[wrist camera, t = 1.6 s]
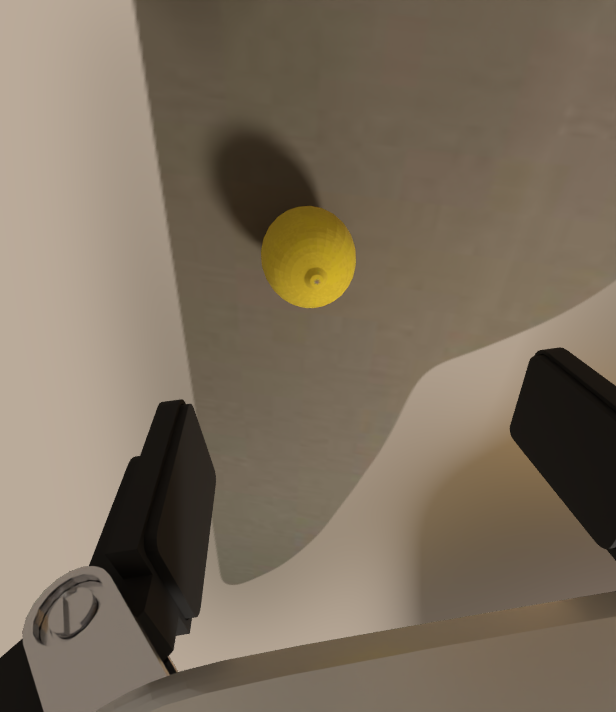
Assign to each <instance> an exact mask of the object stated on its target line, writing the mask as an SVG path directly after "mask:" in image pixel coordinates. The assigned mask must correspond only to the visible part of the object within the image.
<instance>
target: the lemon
mask: <svg viewBox="0 0 616 712" xmlns="http://www.w3.org/2000/svg"><path fill="white" fill-rule="evenodd" d="M261 259H262V267H263V270H264V273H265V276H266V279H267V280H268V282H269V284H270V285H271V287H272V288H273V290H274V291H275V292H276V293H277V294H278V295H279V296H280V297H281V298H283V299H284V300H286V301H287V302H289V303H291V304H293V305H296V306H300V307H304V308H316V307H321V306H325V305H327V304H329V303H331V302H333V301H335V300H336V299H337V298H338V297H340V296H341V295H342V294H343V292H344V291H345V290H346V289H347V287H348V286H349V284H350V282H351V280H352V278H353V275H354V270H355V265H356V255H355V247H354V243H353V240H352V237H351V234H350V233H349V231H348V230H347V228H346V226H345V225H344V223H343V222H342V221H341V220H339V219H338V218H337V217H336V216H335V215H334V214H332V213H330V212H328V211H326V210H324V209H322V208H319V207H313V206H301V207H296V208H293V209H290V210H287V211H286V212H284V213H283V214H281V215H280V216H278V217H277V218H276V219H275V221H274V222H273V223H272V224H271V225H270V226H269V228H268V230H267V232H266V234H265V236H264V239H263V244H262V249H261Z"/></svg>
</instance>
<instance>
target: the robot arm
mask: <svg viewBox="0 0 616 712" xmlns="http://www.w3.org/2000/svg"><path fill="white" fill-rule="evenodd" d="M510 433H511V436H512V438H513V439H514V441H515V442H516V443H517V445H518V446H519V447H520V449H521V450H522V451H523V452H524V454H525V455H526V456H527V457H528V458H529V460H530V461H531V462H532V463H533V465H534V466H535V467H536V468H537V470H538V471H539V472H540V473H541V475H542V476H543V477H544V478H545V479H546V481H547V482H548V483H549V485H550V486H551V487H552V488H553V490H554V491H555V492H556V493H557V495H558V496H559V497H560V498H561V499H562V501H563V502H564V503H565V505H566V506H567V507H568V508H569V510H570V511H571V512H572V513H573V515H574V516H575V517H576V518H577V519H578V521H579V522H580V523H581V524H582V526H583V527H584V528H585V529H586V531H587V532H588V533H589V534H590V536H591V537H592V538H593V539H594V540H595V542H596V543H597V544H598V545H599V546H600V547H602V548H604V549H607V550H608V552H609V553H610V554H611V555H612V556H613V558H614V559H615V560H616V386H615V385H614V384H612V383H611V382H610V381H608V380H607V379H605V378H604V377H603V376H601V375H600V374H599V373H597V372H596V371H595V370H593V369H592V368H591V367H589V366H588V365H586V364H585V363H584V362H582V361H581V360H580V359H578V358H577V357H576V356H574V355H573V354H572V353H570V352H569V351H567V350H566V349H564V348H553V349H546V350H540V351H538V352H537V353H536V354H535V356H534V357H532V358H531V359H530V361H529V364H528V368H527V371H526V374H525V378H524V381H523V385H522V388H521V391H520V394H519V398H518V401H517V404H516V408H515V411H514V415H513V418H512V422H511V425H510ZM215 485H216V475H215V470H214V467H213V464H212V461H211V458H210V455H209V452H208V449H207V446H206V443H205V440H204V437H203V434H202V431H201V428H200V426H199V423H198V420H197V417H196V414H195V411H194V408H193V406H192V404H185V402H184V400H174V401H166V402H161V403H160V404H159V406H158V408H157V410H156V414H155V416H154V419H153V422H152V424H151V427H150V430H149V433H148V435H147V438H146V441H145V444H144V446H143V449H142V452H141V455H140V456H137V457H133V458H132V459H131V460H130V462H129V464H128V466H127V469H126V471H125V474H124V477H123V479H122V482H121V484H120V487H119V489H118V492H117V495H116V497H115V500H114V502H113V505H112V508H111V510H110V513H109V516H108V518H107V520H106V523H105V526H104V528H103V531H102V533H101V536H100V539H99V541H98V544H97V546H96V549H95V552H94V554H93V557H92V560H91V562H90V564H89V566H86V567H81V568H78V569H75V570H72V571H70V572H68V573H67V574H65V575H63V576H62V577H60V578H58V579H57V580H56V581H55V582H53V583H52V584H51V585H50V586H49V587H48V588H47V589H45V590H44V592H43V593H42V594H41V595H40V597H39V598H38V599H37V600H36V601H35V603H34V604H33V606H32V608H31V610H30V612H29V614H28V615H27V617H26V620H25V624H24V628H23V631H22V634H23V639H22V640H21V641H19V642H18V643H17V644H16V645H15V646H13V647H12V648H11V649H10V650H9V651H8V652H7V653H6V654H4V655H3V656H2V657H1V658H0V712H616V591H614V592H608V593H602V594H596V595H590V596H584V597H578V598H572V599H566V600H560V601H554V602H548V603H542V604H536V605H531V606H524V607H519V608H513V609H507V610H501V611H495V612H489V613H483V614H478V615H472V616H466V617H460V618H455V619H449V620H443V621H438V622H431V623H425V624H420V625H414V626H408V627H403V628H397V629H391V630H386V631H380V632H374V633H369V634H363V635H357V636H352V637H346V638H341V639H335V640H329V641H324V642H318V643H312V644H306V645H301V646H296V647H291V648H285V649H281V650H275V651H270V652H266V653H260V654H255V655H250V656H245V657H240V658H235V659H229V660H224V661H220V662H216V663H212V664H208V665H204V666H201V667H196V668H192V669H189V670H185V671H181V672H178V670H177V669H176V667H175V665H174V664H173V662H172V661H171V659H170V657H169V655H170V654H171V653H172V651H173V650H174V643H175V637H176V636H177V635H184V634H189V633H190V628H191V621H192V618H194V617H198V615H199V612H200V608H201V600H202V591H203V584H204V575H205V567H206V559H207V551H208V543H209V534H210V526H211V518H212V510H213V502H214V494H215Z"/></svg>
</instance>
